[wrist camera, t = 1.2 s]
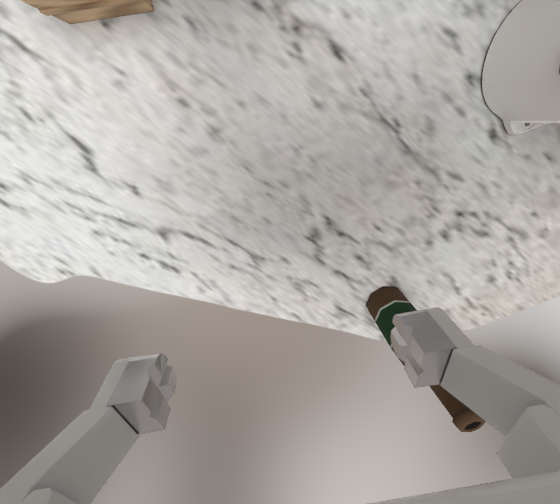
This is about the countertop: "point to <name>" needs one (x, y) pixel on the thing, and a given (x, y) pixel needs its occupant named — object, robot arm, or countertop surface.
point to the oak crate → (90, 8)
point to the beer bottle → (383, 310)
